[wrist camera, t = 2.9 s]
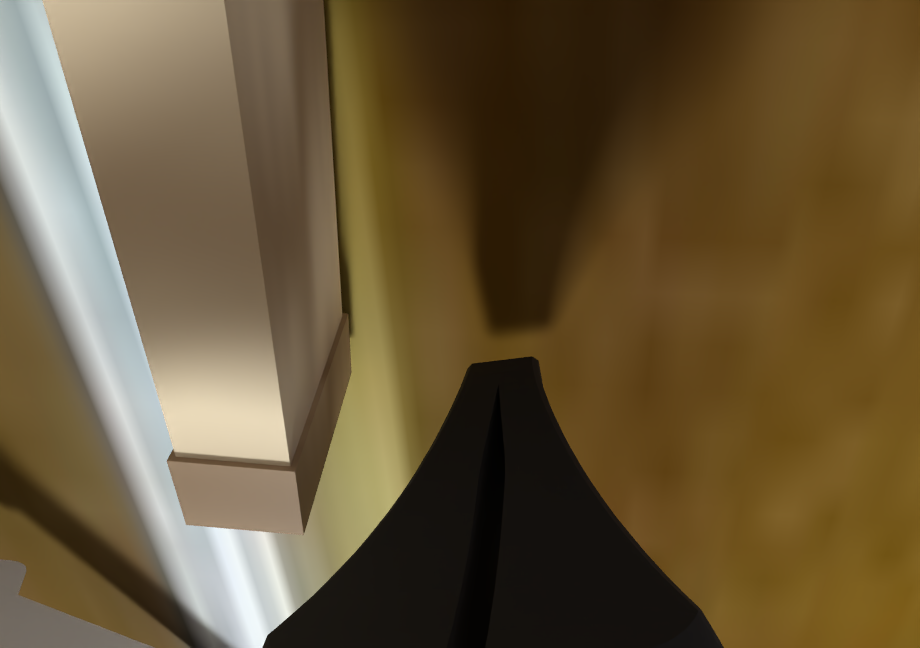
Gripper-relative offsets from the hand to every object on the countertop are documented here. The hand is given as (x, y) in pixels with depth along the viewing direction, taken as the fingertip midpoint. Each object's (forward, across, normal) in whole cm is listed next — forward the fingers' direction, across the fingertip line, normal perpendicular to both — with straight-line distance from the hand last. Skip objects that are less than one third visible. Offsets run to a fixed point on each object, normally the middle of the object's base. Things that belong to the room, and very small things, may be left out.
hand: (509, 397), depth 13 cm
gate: (+1, +3, -6) cm, 7 cm away
